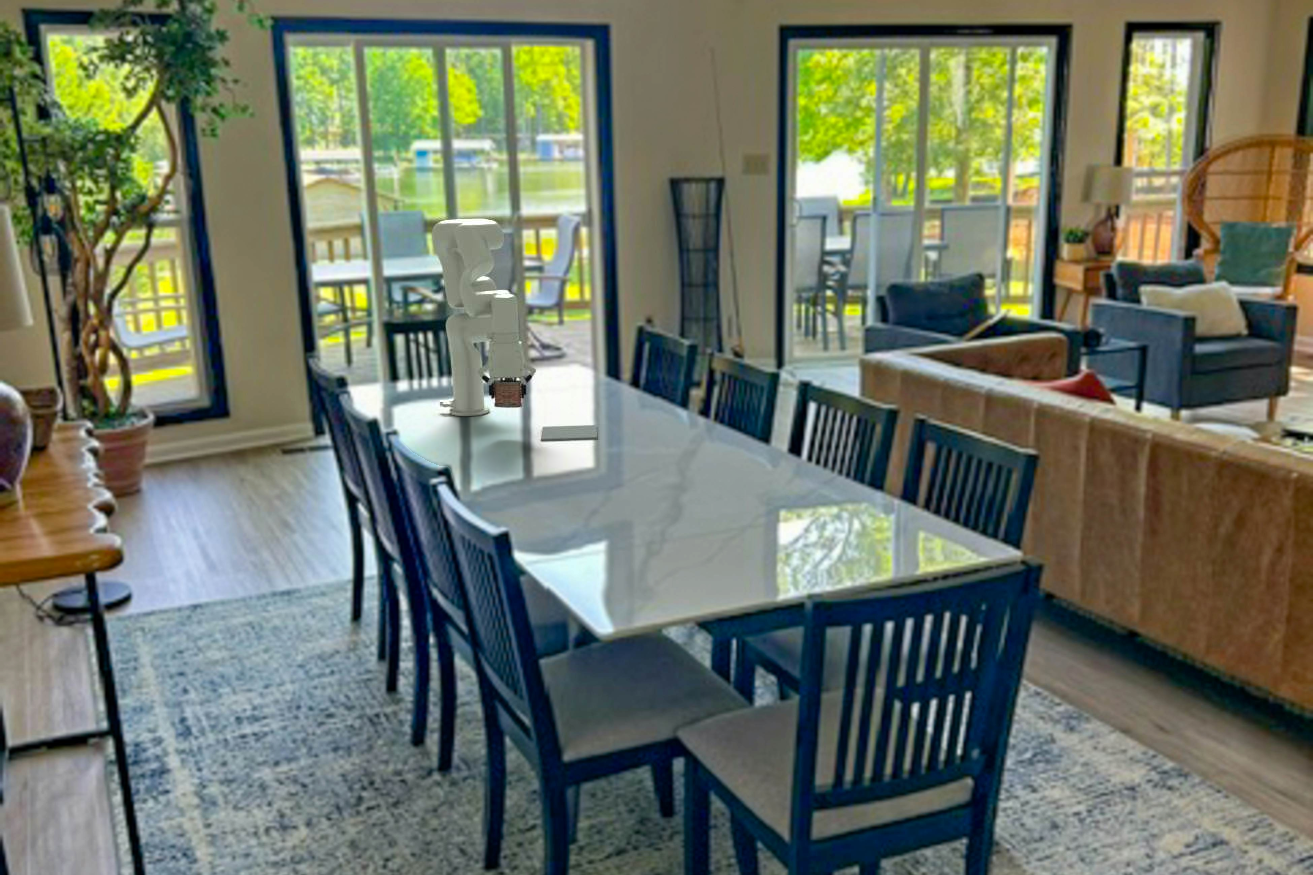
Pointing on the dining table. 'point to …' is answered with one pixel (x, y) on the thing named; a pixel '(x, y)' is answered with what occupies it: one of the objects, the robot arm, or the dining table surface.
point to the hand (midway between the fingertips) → (507, 397)
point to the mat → (569, 433)
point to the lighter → (507, 393)
